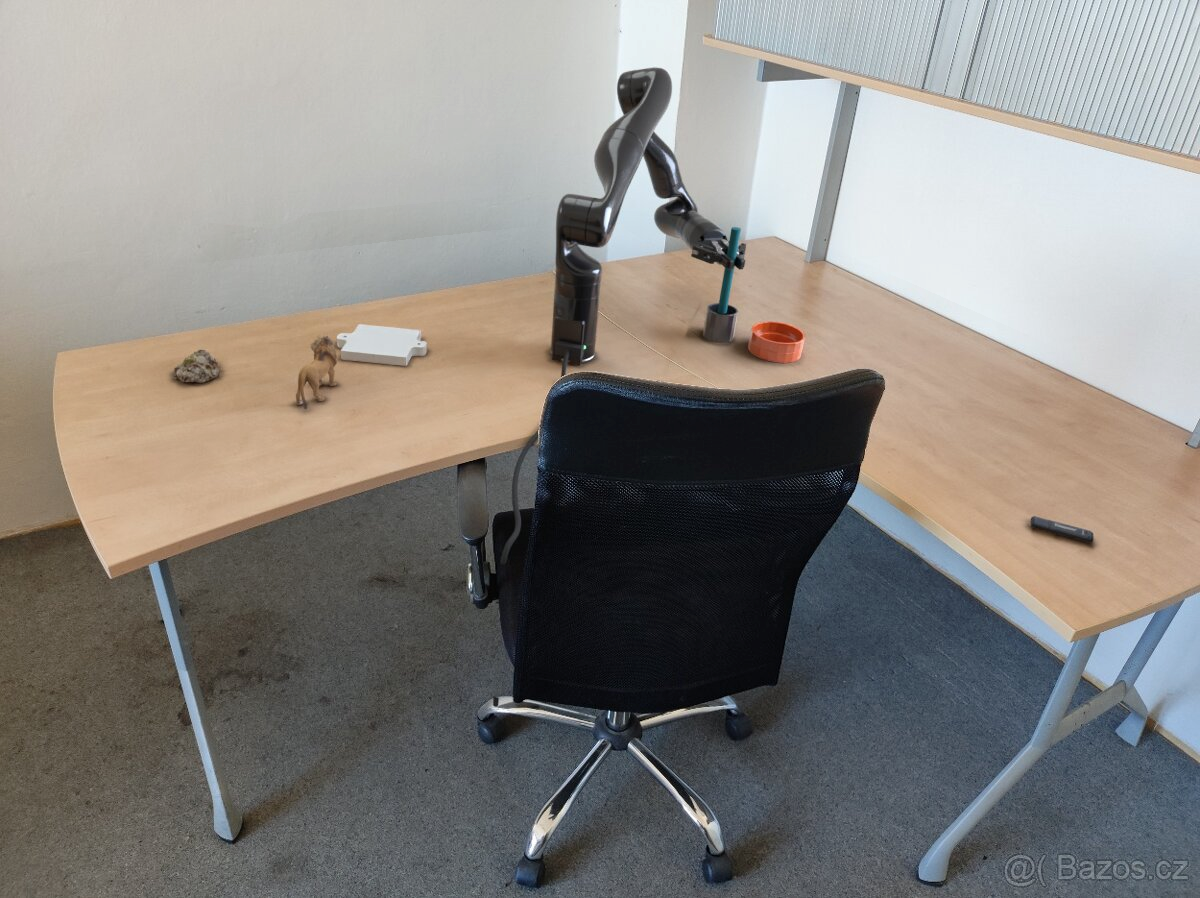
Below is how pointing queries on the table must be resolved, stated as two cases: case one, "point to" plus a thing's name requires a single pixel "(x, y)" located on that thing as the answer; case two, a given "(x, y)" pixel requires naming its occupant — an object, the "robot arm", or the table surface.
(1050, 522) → the usb stick
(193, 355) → the mineral rock
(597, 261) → the robot arm
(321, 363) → the lion figurine
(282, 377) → the table surface
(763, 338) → the bowl
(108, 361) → the table surface
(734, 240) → the straw
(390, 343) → the mounting plate
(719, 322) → the tumbler
